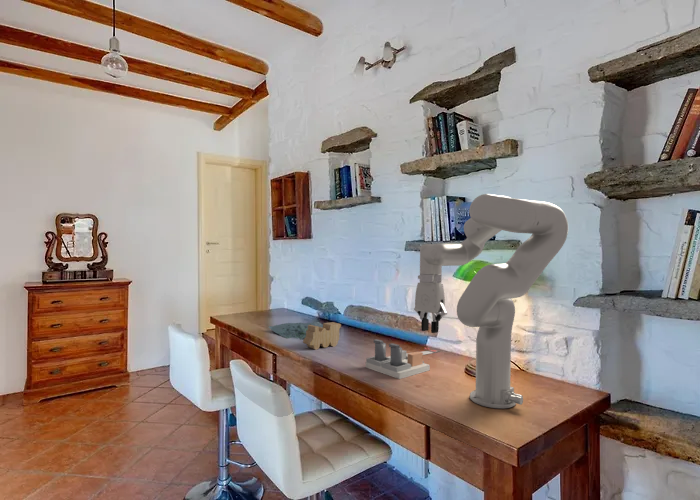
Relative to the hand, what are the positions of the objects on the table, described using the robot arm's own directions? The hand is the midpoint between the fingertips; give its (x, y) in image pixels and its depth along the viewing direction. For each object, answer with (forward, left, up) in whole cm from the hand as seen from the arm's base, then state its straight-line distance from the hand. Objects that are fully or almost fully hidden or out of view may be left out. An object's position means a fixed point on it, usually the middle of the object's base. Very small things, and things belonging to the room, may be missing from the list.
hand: (429, 331), depth 140 cm
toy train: (+55, +6, -16) cm, 57 cm away
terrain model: (+85, -4, -16) cm, 87 cm away
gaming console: (+23, -19, -16) cm, 34 cm away
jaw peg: (+8, +8, -13) cm, 18 cm away
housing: (+12, +4, -15) cm, 20 cm away
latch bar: (+7, 0, -13) cm, 15 cm away
